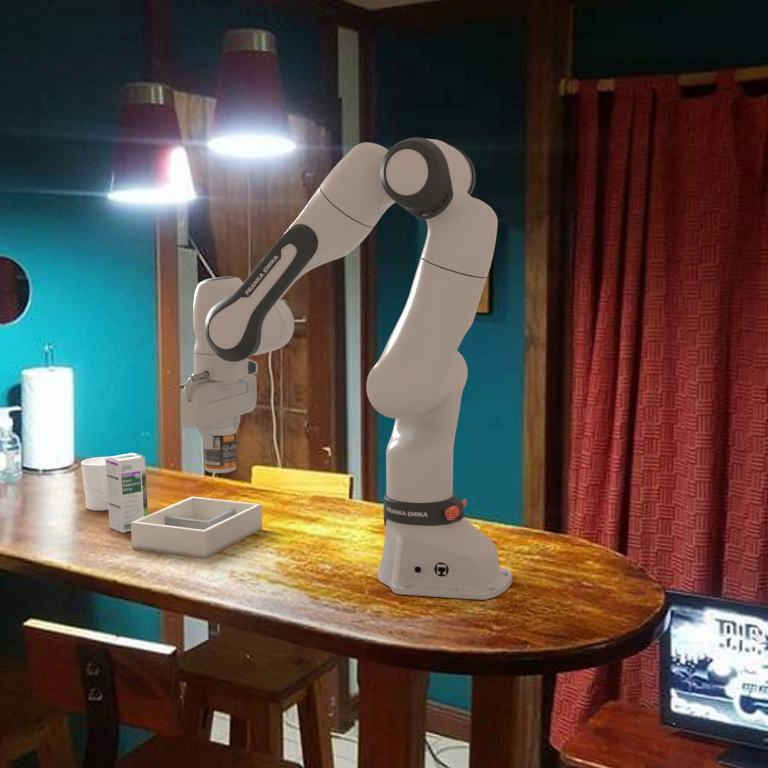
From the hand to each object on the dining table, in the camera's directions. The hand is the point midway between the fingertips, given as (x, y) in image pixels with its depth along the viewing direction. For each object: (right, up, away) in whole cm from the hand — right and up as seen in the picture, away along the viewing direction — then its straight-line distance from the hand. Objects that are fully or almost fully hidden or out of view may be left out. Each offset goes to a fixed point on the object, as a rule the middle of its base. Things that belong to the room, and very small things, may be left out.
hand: (220, 444), depth 186 cm
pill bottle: (0, -5, +1) cm, 5 cm away
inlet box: (-6, -19, +11) cm, 22 cm away
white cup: (-30, -16, +35) cm, 49 cm away
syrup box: (-21, -18, +19) cm, 33 cm away
